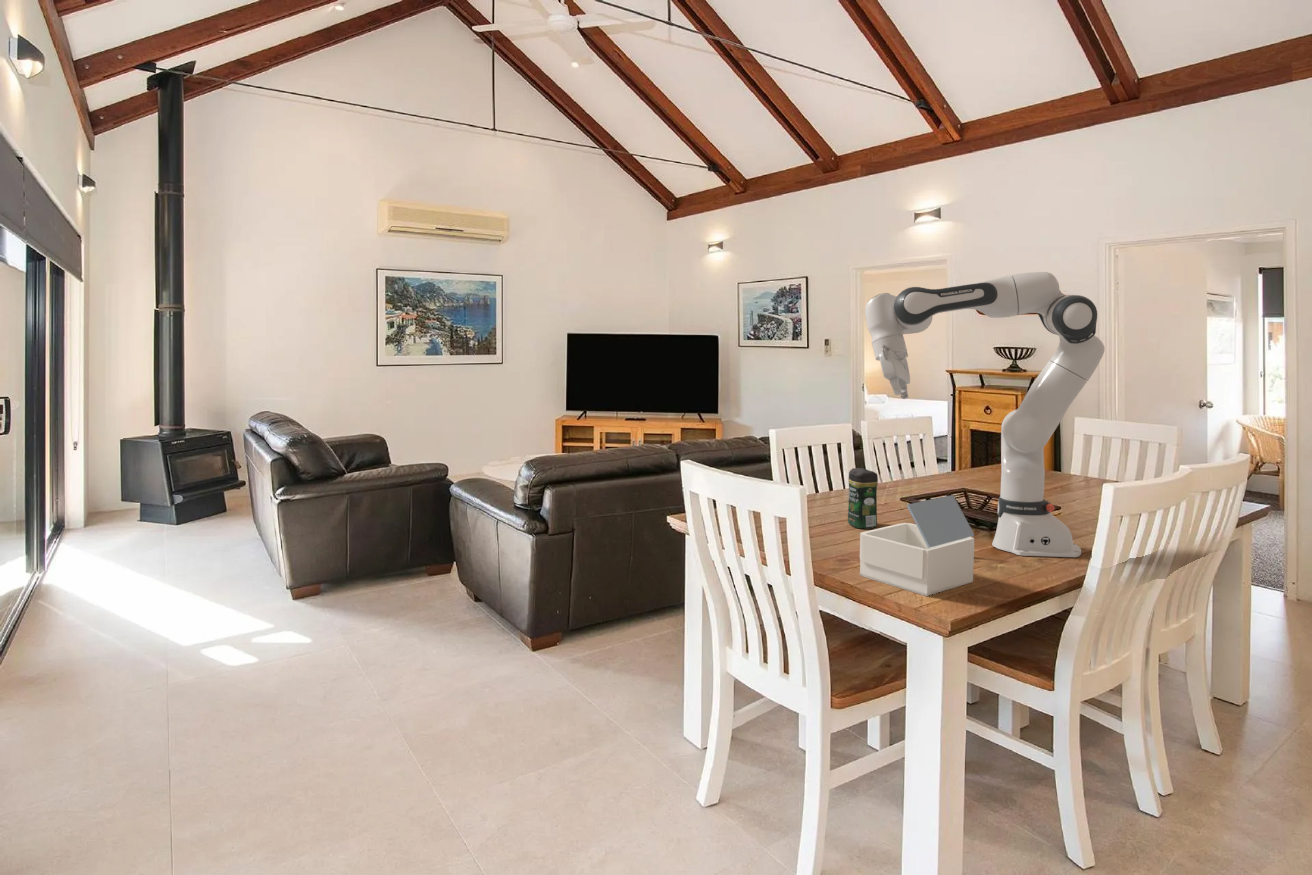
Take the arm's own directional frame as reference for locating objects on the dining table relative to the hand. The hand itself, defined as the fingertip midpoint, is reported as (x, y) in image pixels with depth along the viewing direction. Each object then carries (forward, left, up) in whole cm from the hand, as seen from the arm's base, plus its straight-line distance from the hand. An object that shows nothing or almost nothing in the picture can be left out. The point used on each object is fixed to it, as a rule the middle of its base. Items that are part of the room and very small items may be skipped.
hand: (901, 396), depth 217 cm
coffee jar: (+13, -21, -44) cm, 50 cm away
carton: (-6, +30, -43) cm, 53 cm away
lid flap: (-12, +33, -27) cm, 45 cm away
